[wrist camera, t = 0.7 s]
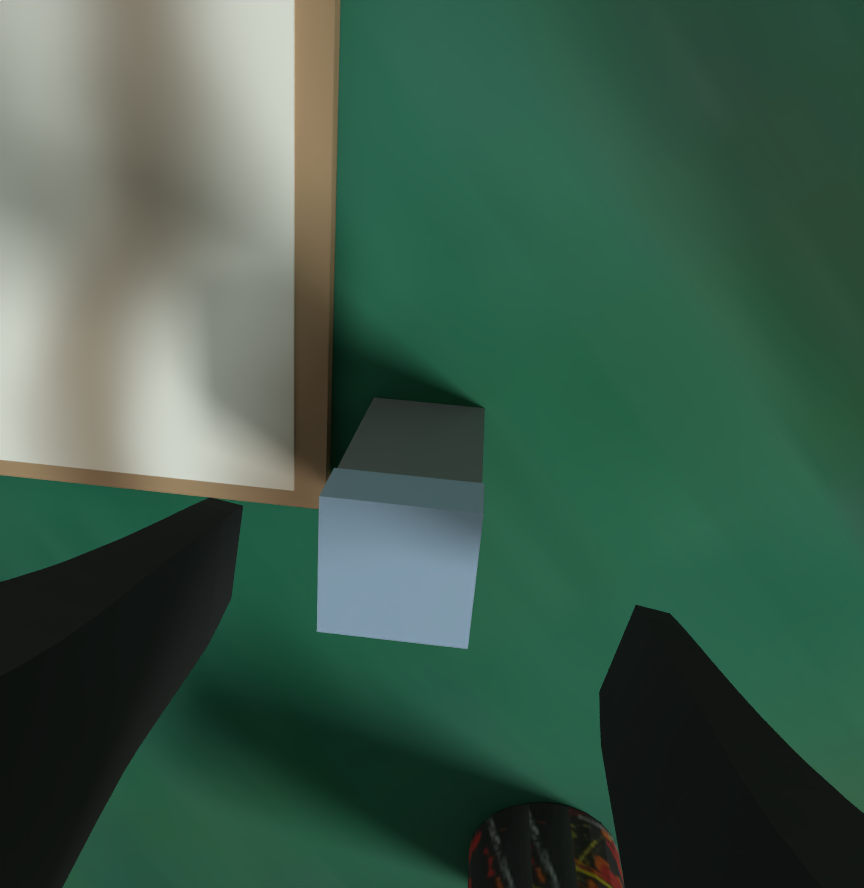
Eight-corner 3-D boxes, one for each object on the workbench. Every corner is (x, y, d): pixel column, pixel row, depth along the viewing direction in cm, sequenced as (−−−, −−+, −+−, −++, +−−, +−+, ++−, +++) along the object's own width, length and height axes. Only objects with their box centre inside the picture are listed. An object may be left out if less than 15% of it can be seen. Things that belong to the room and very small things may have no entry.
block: (368, 497, 22) (317, 631, 16) (372, 395, 21) (319, 496, 15) (475, 509, 22) (467, 648, 16) (486, 406, 21) (483, 513, 15)
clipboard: (-24, 463, 23) (-62, 485, 22) (-135, -125, 17) (-199, -155, 16) (329, 501, 23) (316, 526, 21) (342, -95, 17) (326, -122, 15)
